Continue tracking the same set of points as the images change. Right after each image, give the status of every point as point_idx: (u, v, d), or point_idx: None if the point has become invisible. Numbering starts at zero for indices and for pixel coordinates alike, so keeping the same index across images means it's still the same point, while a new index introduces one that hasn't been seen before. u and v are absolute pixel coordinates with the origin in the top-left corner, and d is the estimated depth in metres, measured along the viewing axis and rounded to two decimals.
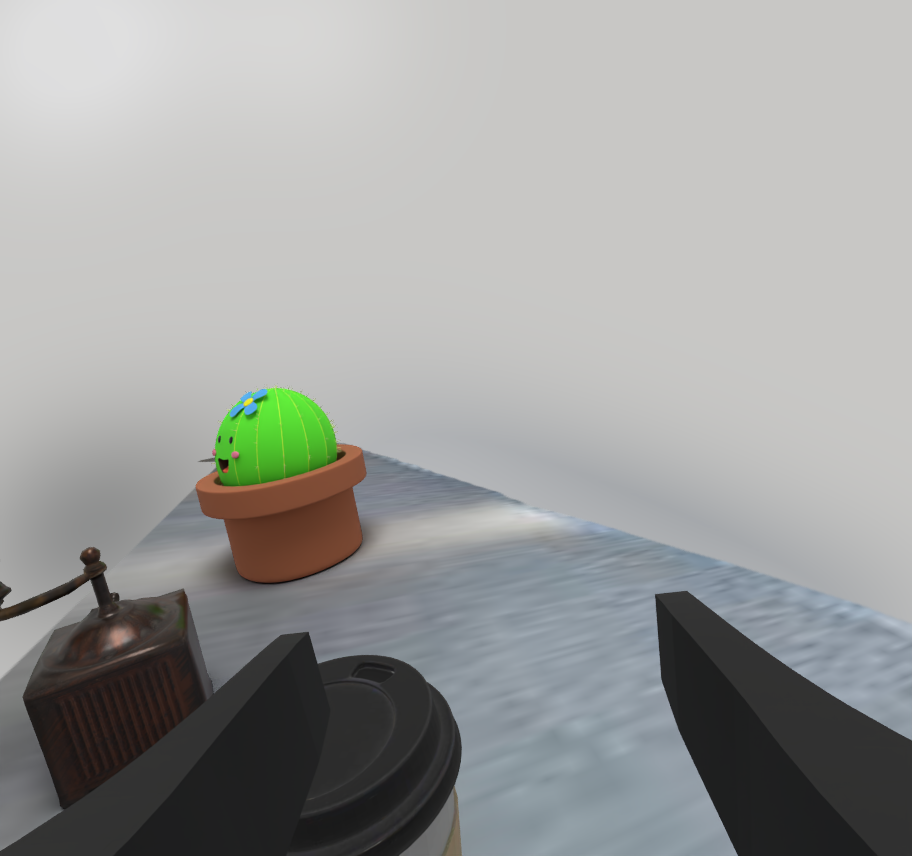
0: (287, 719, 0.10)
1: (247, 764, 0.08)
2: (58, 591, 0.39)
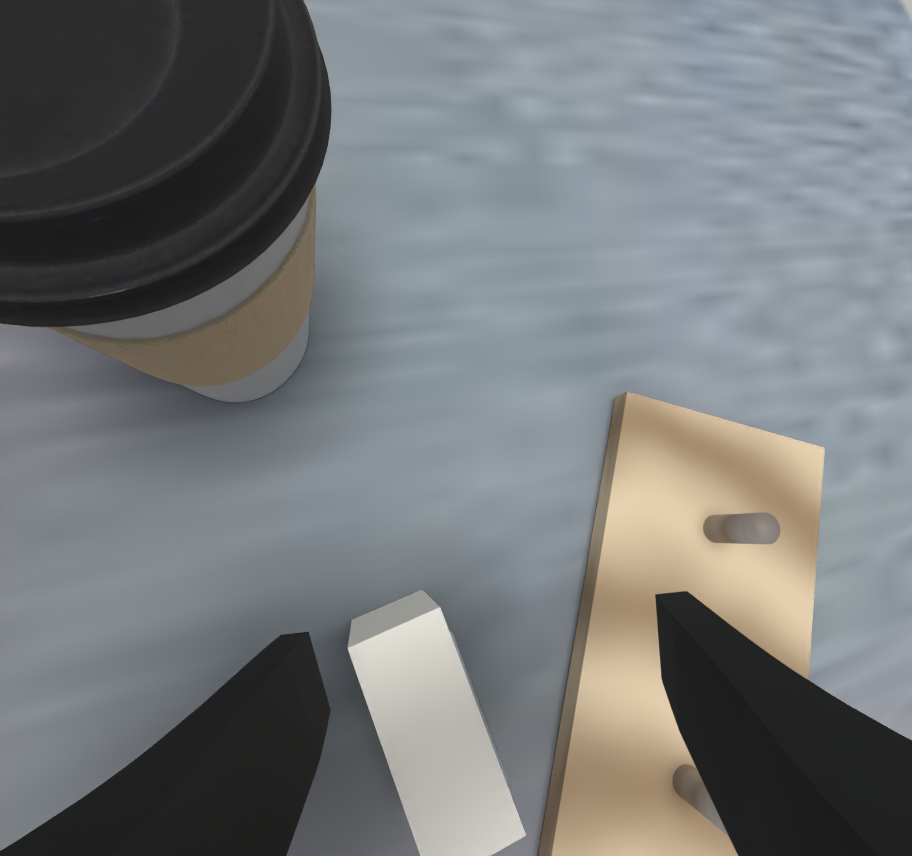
0: (287, 719, 0.10)
1: (247, 764, 0.08)
2: None
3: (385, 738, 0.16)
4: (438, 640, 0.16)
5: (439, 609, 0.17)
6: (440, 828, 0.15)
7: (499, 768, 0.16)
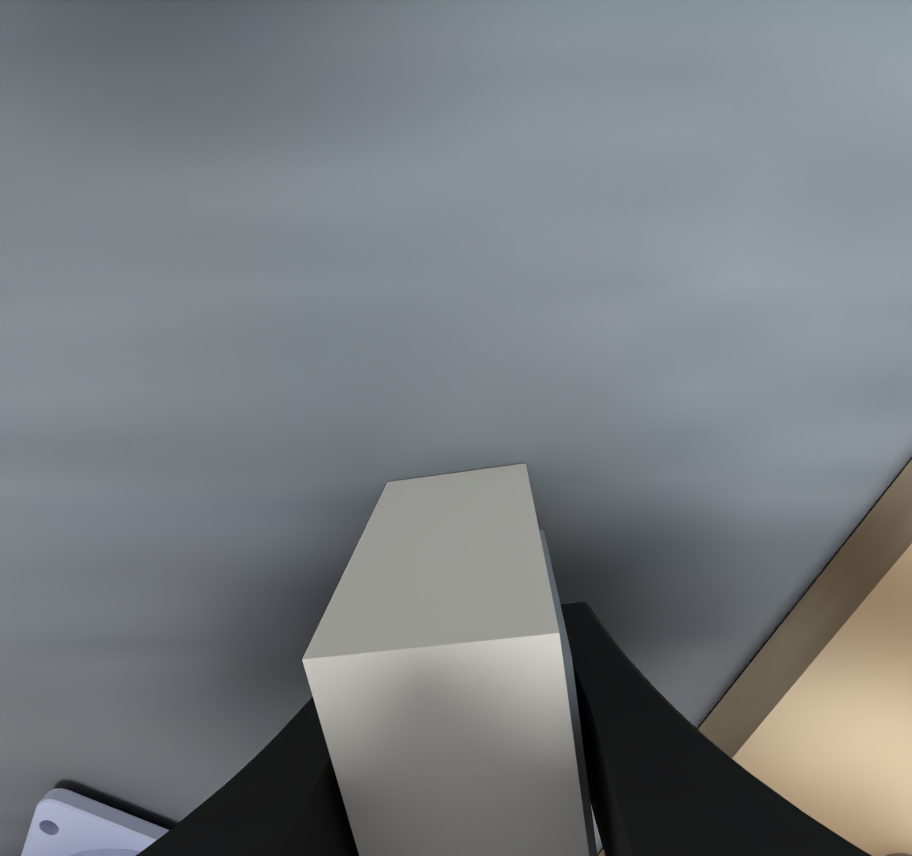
0: None
1: None
2: None
3: (364, 835, 0.07)
4: (533, 702, 0.06)
5: (556, 638, 0.06)
6: None
7: None
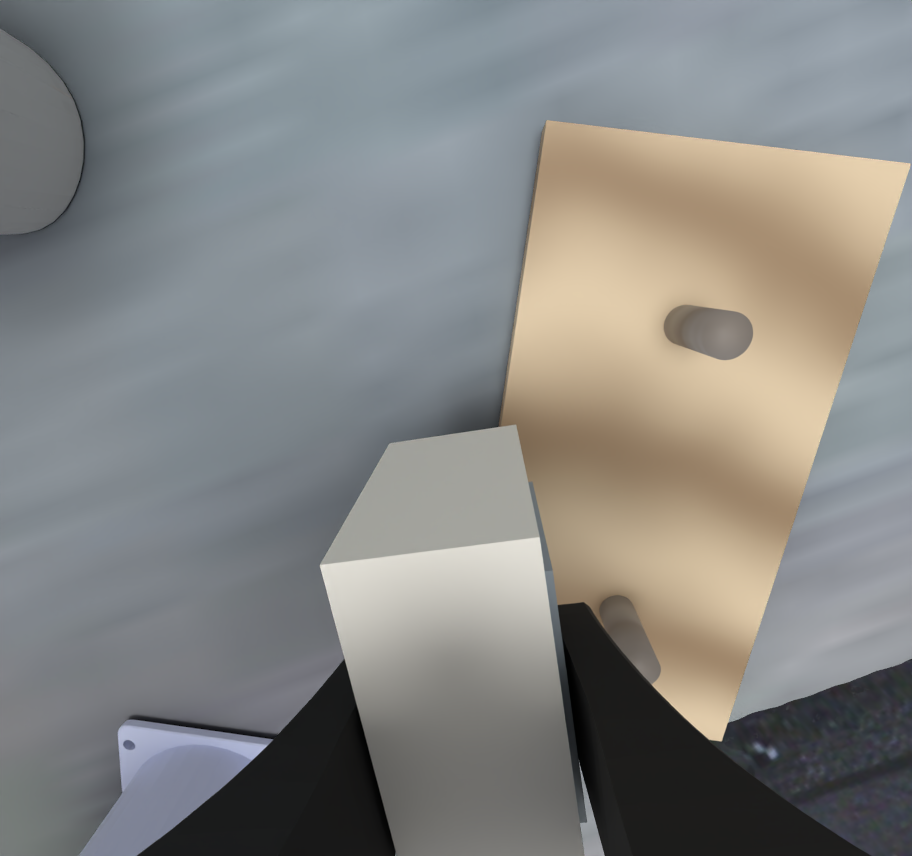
0: None
1: (366, 754, 0.08)
2: None
3: (373, 727, 0.08)
4: (517, 600, 0.07)
5: (536, 541, 0.07)
6: None
7: (577, 826, 0.08)
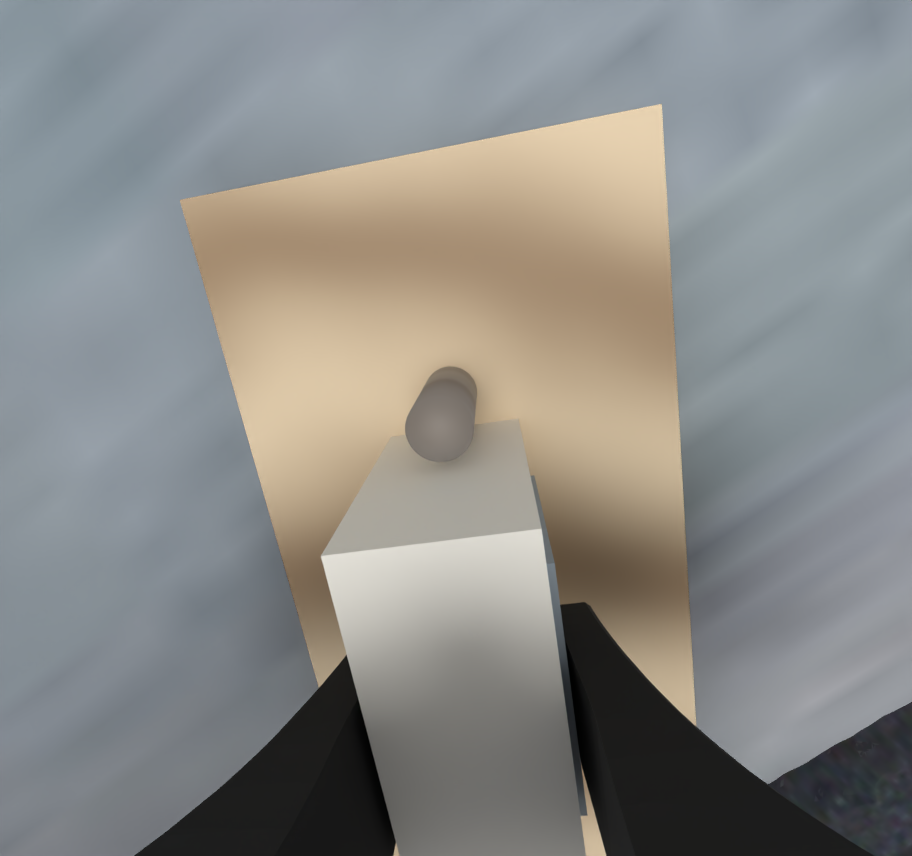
0: None
1: (364, 754, 0.08)
2: None
3: (374, 719, 0.08)
4: (519, 592, 0.07)
5: (538, 533, 0.07)
6: None
7: (578, 819, 0.08)
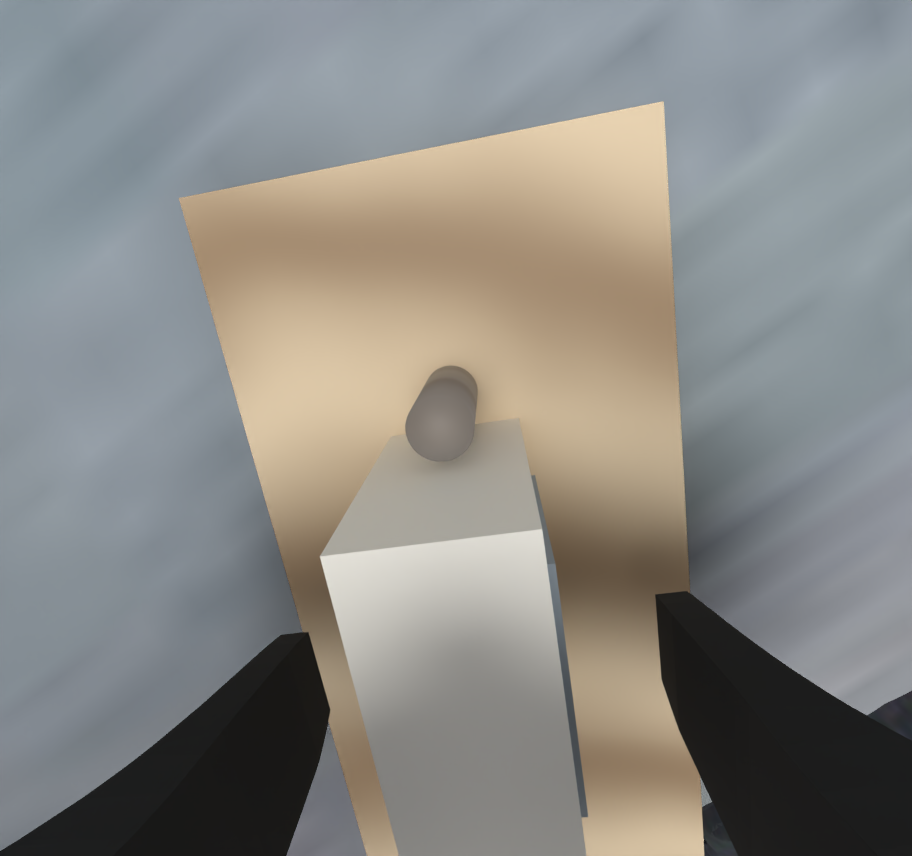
0: (287, 719, 0.10)
1: (247, 764, 0.08)
2: None
3: (373, 721, 0.08)
4: (520, 592, 0.07)
5: (539, 534, 0.07)
6: None
7: (579, 820, 0.08)
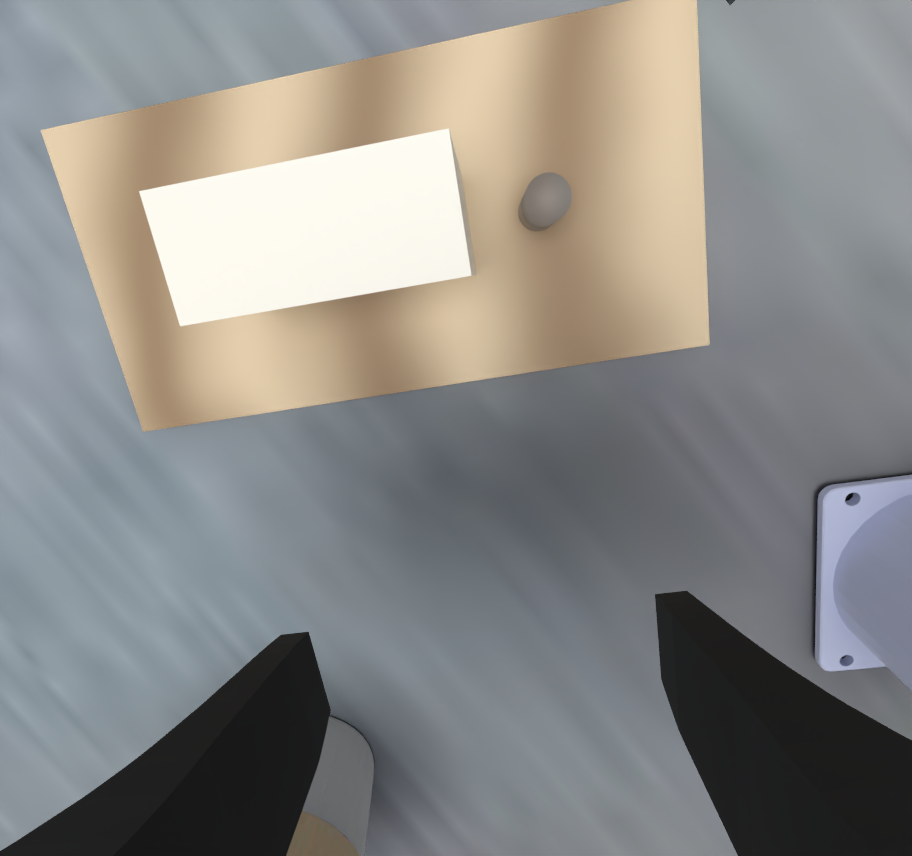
0: (287, 719, 0.10)
1: (247, 764, 0.08)
2: None
3: (290, 299, 0.12)
4: (181, 203, 0.12)
5: (141, 192, 0.12)
6: (407, 250, 0.12)
7: (356, 149, 0.11)
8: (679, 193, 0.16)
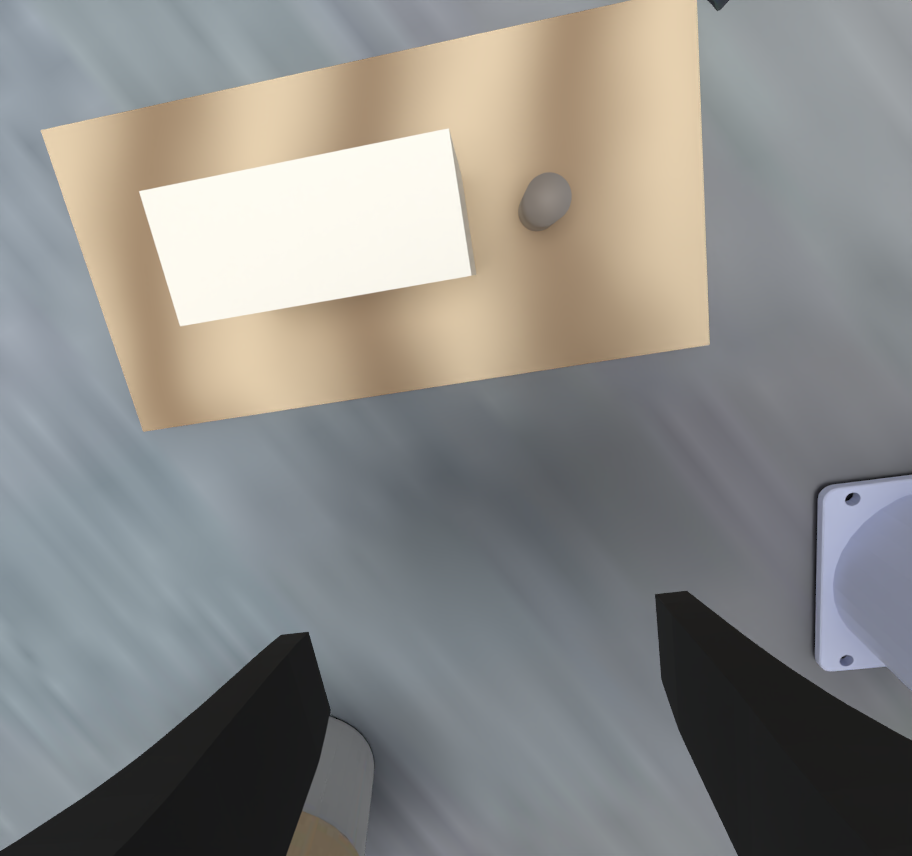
0: (287, 719, 0.10)
1: (247, 764, 0.08)
2: None
3: (290, 299, 0.12)
4: (181, 203, 0.12)
5: (141, 192, 0.12)
6: (407, 250, 0.12)
7: (356, 149, 0.11)
8: (679, 193, 0.16)
